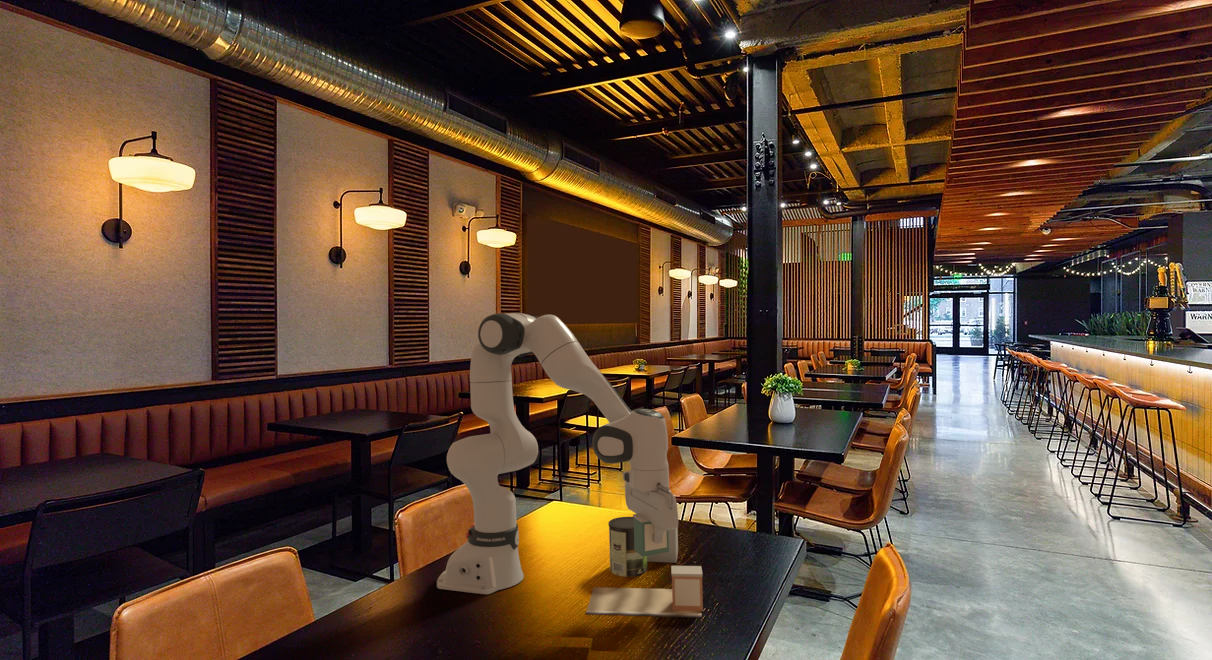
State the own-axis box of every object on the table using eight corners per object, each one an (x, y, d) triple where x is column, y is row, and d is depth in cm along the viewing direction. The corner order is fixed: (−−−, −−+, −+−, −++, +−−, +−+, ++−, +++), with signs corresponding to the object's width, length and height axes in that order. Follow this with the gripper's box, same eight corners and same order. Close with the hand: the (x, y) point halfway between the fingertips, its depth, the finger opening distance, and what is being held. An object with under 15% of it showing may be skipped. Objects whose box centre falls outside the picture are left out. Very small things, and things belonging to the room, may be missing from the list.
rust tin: (672, 601, 138) (671, 565, 139) (702, 602, 138) (701, 566, 138) (672, 610, 134) (671, 573, 134) (703, 611, 133) (702, 574, 133)
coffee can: (650, 568, 162) (648, 516, 162) (645, 583, 152) (643, 529, 152) (613, 565, 164) (612, 515, 164) (606, 581, 154) (604, 527, 154)
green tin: (633, 550, 138) (632, 514, 138) (660, 545, 141) (659, 510, 141) (642, 557, 134) (641, 520, 134) (669, 552, 136) (668, 515, 137)
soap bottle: (678, 551, 174) (676, 487, 174) (676, 563, 165) (674, 495, 165) (649, 550, 175) (647, 486, 175) (646, 561, 167) (644, 494, 167)
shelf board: (586, 620, 133) (585, 612, 133) (593, 593, 147) (593, 586, 147) (702, 624, 130) (701, 615, 130) (698, 595, 144) (698, 588, 144)
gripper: (684, 487, 129) (686, 550, 129) (642, 468, 148) (644, 524, 148) (659, 491, 127) (660, 555, 126) (620, 471, 145) (621, 527, 145)
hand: (651, 538), depth 137 cm, fingers closed on green tin, 5 cm apart
